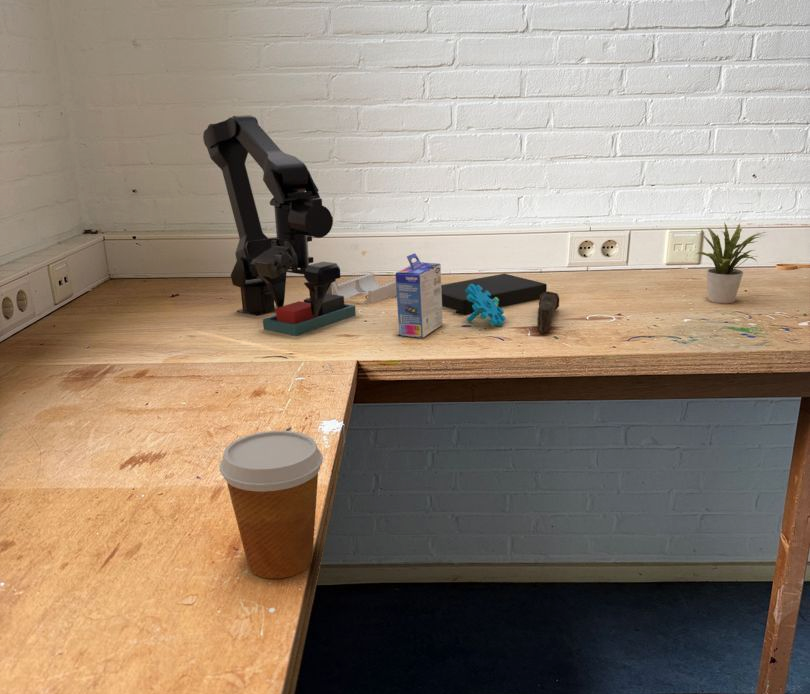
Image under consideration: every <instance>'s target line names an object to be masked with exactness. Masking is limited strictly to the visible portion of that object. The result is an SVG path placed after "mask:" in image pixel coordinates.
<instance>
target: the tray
mask: <svg viewBox="0 0 810 694" xmlns="http://www.w3.org/2000/svg"><path fill="white" fill-rule="evenodd" d="M355 316H357V312H356V305H355V304H348V303H344V308H342V309H339V310H336V311H333V312H330V313H327V314H324V315H321V316H318V317H315V318H312V319H309V320H306V321H303V322H300V323H297V324H291V323H286V322H281V321H277V318H276V314H275V315H272V316H269V317H266V318H263V319H262V328H263V330H264V331H268V332H273V333H279V334H282V335H288V336H293V337H299V336H301V335H303V334H306V333H309V332H313V331H315V330H318V329H320V328H323V327H324V328H325V327H326V326H330V325H332V324H335V323H339V322H341V321H343V320H347V319H349V318H352V317H355Z"/></svg>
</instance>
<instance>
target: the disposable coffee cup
mask: <svg viewBox="0 0 810 694" xmlns="http://www.w3.org/2000/svg"><path fill="white" fill-rule="evenodd" d="M323 459H324V457H323V453H322V452H321V450H319V447H318V445H317V442H316V440H315V439H314V438H313V437H311V436H310V435H308V434H305V433H302V432H298V431H294V430H293V431H291V430H266V431H260V432H259V431H258V432H254V433H251V434H248V435H245V436H242V437H239V438H237V439H235V440H233V441H232V442H229V444H228V445H227V446H225V448H224V451H223V453H222V459H221V460H220V462H219V472H220V474H221V476H222V477H223V479H224V480H225V482H226V484H227V488H228V492H229V496H230V501H231V505H232V508H233V512H234V516H235V519H236V524H237V528H238V532H239V534H240V539H241V543H242V547H243V550H244V556H245V559H246V564H247V568H248V570H249V571H250V572H251V573H252V574H254V575H255V576H257V577H260V578H264V579H285V578H290V577H292V576H297V575H299V574H300V573H302V572H304V571H305V570H306V569H307V568H308V567H309V566H310V565H311V564H312V562H313V559H314V558H313V556H314V555H313V554H314V540H315V526H316V513H317V512H316V511H317V510H316V509H317V498H318V497H317V496H318V483H319V482H318V481H319V472H320V470H321V466H322V464H323V461H324V460H323Z"/></svg>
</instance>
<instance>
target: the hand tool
mask: <svg viewBox="0 0 810 694" xmlns="http://www.w3.org/2000/svg"><path fill="white" fill-rule="evenodd" d="M538 300H539V301H538V310H537V329H538V331H539V332H540V333H541V334H545V333H547V332H548V331H549V330H550V329H551V327H552V322H553V319H554V317H555V313H556V311H557V309H558V308H559V307H560V295H559V294H558V292H553V291H549V290H548V291H546V292H544V293H542V294H541V295H540V297H539V299H538Z"/></svg>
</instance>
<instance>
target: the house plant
mask: <svg viewBox="0 0 810 694" xmlns="http://www.w3.org/2000/svg"><path fill="white" fill-rule="evenodd" d="M723 224H724V231H722V233H723V236H724V238H723V240H724V250H723V249H722V244H721V239H720V237H719V235H718V234H716V233H715V232H714V231H713V230H712V229H711V228H709V227H706V228H707V230H708V232H709V234H710V237H711V240H712V242H711V241H710V239H709V238H707V236H706V235H703V234H702V233H700V235H701V236H702V237H703V238H704V239H705V240H706V242H707V243H708V244H709V245H710V247H711V249H712V251H713V252H708V253H707V252H703V251H699V252H696V253H695V255H702V256H706V257H708V258H709V259H711V261H712V262H713V265H714V267H712V268H708V269H706V279H707V294H708V295H707V297H708V298H707V299H708V301H710V302H711V303H715V304H732V303H735V302H736V299H737V295H738V291H739V288H740V285H741V282H742V278H743V274H744V272H743V271H742V270H740V269H738V267H739V266H740V265H742V264H743V263H744V262H746V261H748V259H751V260H754V261H756V262H757V264H758V261H757V259H756V258H757V257H759V256H758V255H750V254H749V253H751V252H754V251H755V249H750V250H747V251H745V252H742V251H743V250H744V249H745V247H746V246H747V245H748V244H754V243H757V242H758V241H757V240H756V241H753V240H755V239H759V238H760V235H763V234H765V233H766V231H763V232H758V233H755V234H753V235H751V236H749V237H747V238H746V239H744V240H743V241H742V242H741V243H739V244H738V242H739V240H740V239H741V233H742V231H743V230H742V229H743V228H742V227H741V224H740V223H738V225H737V227H736V228H735V231H734V233H733V235H732V236H731V238H730V234H729V230H728V226H727V224H726V222H725V221H724V222H723ZM754 257H755V258H754ZM759 258H760V257H759ZM742 259H745V260H743V261H741V260H742ZM740 261H741V263H739V262H740ZM738 263H739V264H738Z"/></svg>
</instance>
